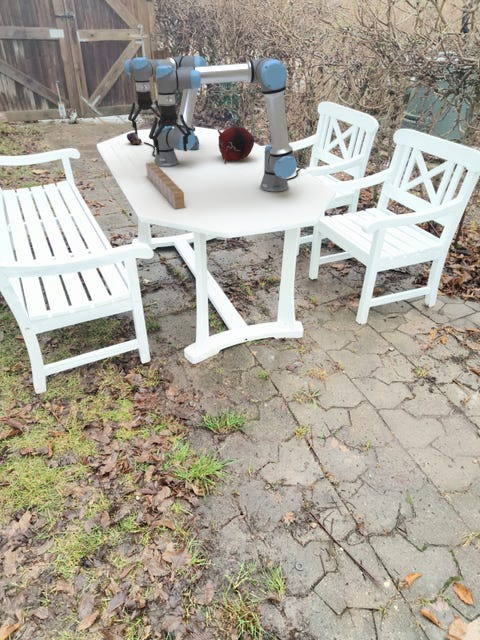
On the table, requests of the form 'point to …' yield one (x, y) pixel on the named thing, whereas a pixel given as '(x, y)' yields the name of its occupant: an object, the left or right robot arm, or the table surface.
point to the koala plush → (196, 144)
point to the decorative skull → (235, 143)
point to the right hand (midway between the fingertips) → (171, 152)
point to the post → (165, 185)
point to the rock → (133, 138)
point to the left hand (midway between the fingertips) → (148, 132)
